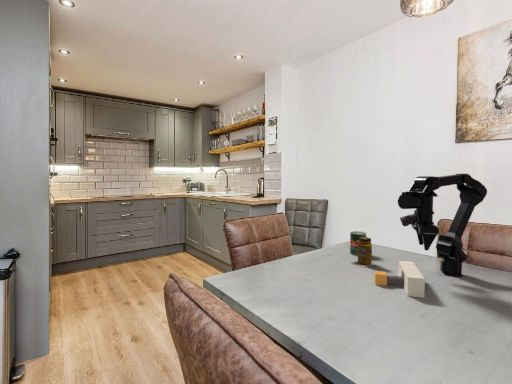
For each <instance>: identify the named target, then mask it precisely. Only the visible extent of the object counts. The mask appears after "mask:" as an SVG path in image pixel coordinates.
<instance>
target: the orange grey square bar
mask: <svg viewBox="0 0 512 384" xmlns="http://www.w3.org/2000/svg"><path fill="white" fill-rule="evenodd" d="M374 284H375V286H384V287H388V286H392V287H403V288H404V277H401V276H399V275H390V274H387V272H386V271H380V270H374Z"/></svg>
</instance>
